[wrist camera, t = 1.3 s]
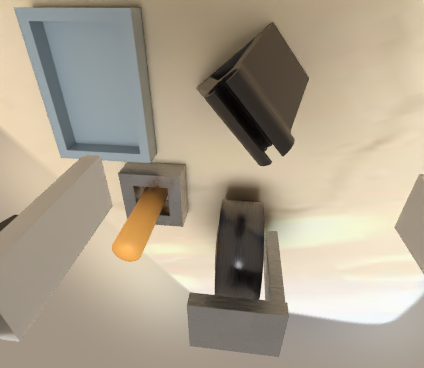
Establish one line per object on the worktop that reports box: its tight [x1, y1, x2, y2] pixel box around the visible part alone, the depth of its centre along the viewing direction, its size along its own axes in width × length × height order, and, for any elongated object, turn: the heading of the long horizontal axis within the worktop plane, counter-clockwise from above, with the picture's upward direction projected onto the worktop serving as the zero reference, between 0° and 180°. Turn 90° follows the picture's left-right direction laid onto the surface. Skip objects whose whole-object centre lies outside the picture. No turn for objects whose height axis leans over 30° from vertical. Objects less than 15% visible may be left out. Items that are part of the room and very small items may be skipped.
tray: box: [14, 8, 157, 163], centre depth 29 cm, size 14×10×2 cm
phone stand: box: [197, 22, 309, 166], centre depth 23 cm, size 9×6×12 cm, turn 130°
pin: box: [112, 187, 168, 262], centre depth 31 cm, size 3×3×11 cm
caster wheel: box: [187, 200, 289, 357], centre depth 30 cm, size 11×8×15 cm
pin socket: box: [118, 162, 188, 227], centre depth 34 cm, size 7×7×3 cm
